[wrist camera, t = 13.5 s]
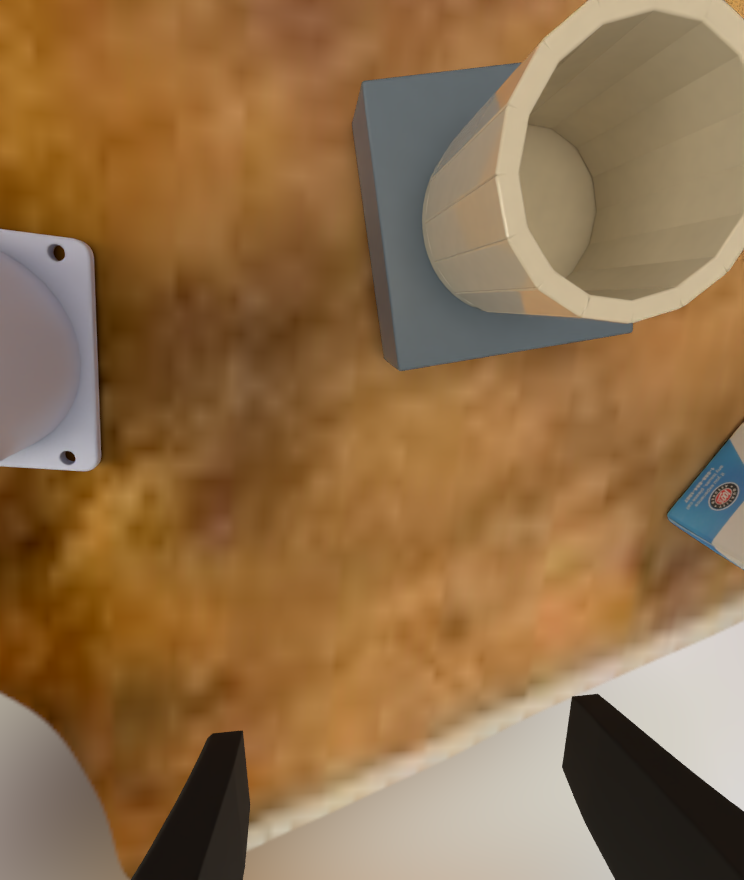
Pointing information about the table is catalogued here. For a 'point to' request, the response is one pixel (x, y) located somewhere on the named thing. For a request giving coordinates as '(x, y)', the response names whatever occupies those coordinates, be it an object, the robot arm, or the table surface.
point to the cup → (600, 169)
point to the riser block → (400, 224)
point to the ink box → (717, 503)
